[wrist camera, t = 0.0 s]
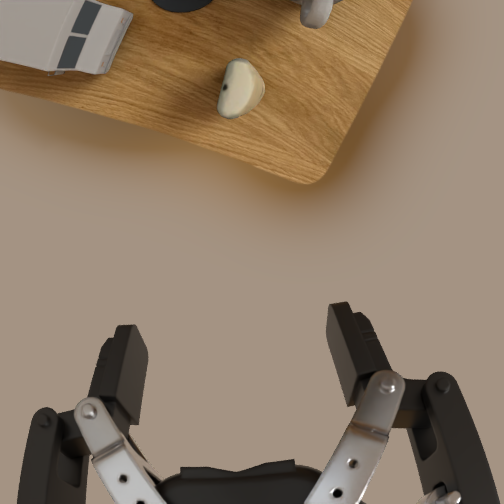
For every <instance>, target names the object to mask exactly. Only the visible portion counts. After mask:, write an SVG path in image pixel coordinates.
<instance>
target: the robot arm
mask: <svg viewBox="0 0 504 504" xmlns="http://www.w3.org/2000/svg"><path fill="white" fill-rule="evenodd" d="M326 337H327V342H328V345H329V348H330V352H331V355H332V358H333V361H334V364H335V367H336V370H337V374H338V377H339V381H340V384H341V387H342V390H343V393H344V397H345V400H346V404H347V406H348V407H349V406H354V405H355V406H356V412H355V414H354V416H353V418H352V420H351V422H350V423H349V425H348V427H347V428H346V430H345V432H344V435H343V436H342V438H341V440H340V442H339V444H338V446H337V448H336V449H335V451H334V453H333V455H332V457H331V459H330V460H329V462H328V464H327V466H326V467H325V469H324V471H323V472H321V471H319V470H317V469H314V468H311V467H308V466H303V465H295V461H294V459H291V460H284V461H277V462H268V463H264V464H261V465H258V466H255V467H252V468H249V469H246V470H242V471H239V472H233V471H227V470H221V469H216V468H211V467H181V468H180V471H181V472H180V473H179V474H175V475H173V476H170V477H168V478H166V479H165V480H164V479H163V478H162V476H161V475H160V474H159V473H158V472H157V471H156V470H155V468H154V467H153V466H152V465H151V464H150V462H149V461H148V459H147V458H146V457H145V455H144V454H143V452H142V451H141V449H140V448H139V446H138V445H137V444H136V442H135V440H134V439H133V437H132V436H131V434H130V433H129V427H130V425H139V418H140V410H141V403H142V397H143V390H144V383H145V377H146V371H147V365H148V351H147V347H146V345H145V343H144V341H143V339H142V337H141V335H140V333H139V330H138V329H137V326H136V325H119V326H117V328H116V331H115V334H114V338H108V339H107V340H106V342H105V343H104V345H103V346H102V347H101V351H100V354H99V359H98V361H97V364H96V366H97V367H96V368H95V371H94V375H93V378H92V382H91V386H90V390H89V394H88V397H87V398H85V399H83V400H81V401H80V402H79V403H78V404H77V406H76V408H75V409H74V410H71V411H66V412H62V413H58V414H57V413H56V412H55V411H54V410H53V409H51V408H48V407H45V408H42V409H40V410H38V411H37V412H36V413H35V414H34V416H33V418H32V421H31V426H30V430H29V434H28V439H27V443H26V449H25V453H24V459H23V465H22V470H21V476H20V483H19V490H18V498H17V504H85V502H86V487H87V486H86V485H87V475H88V463H89V455H91V454H92V455H93V458H92V459H91V461H92V464H93V466H94V468H95V470H96V472H97V473H98V475H99V477H100V479H101V480H102V482H103V484H104V486H105V487H106V489H107V491H108V492H109V494H110V496H111V497H112V499H113V500H114V502H115V504H366V503H364V502H363V501H361V498H362V496H363V494H364V492H365V490H366V488H367V486H368V484H369V482H370V480H371V478H372V476H373V474H374V472H375V469H376V467H377V465H378V463H379V460H380V459H381V456H382V454H383V452H384V449H385V447H386V444H387V442H388V438H389V436H388V435H389V432H390V430H391V428H406V429H407V432H408V435H409V439H410V442H411V446H412V449H413V453H414V457H415V460H416V464H417V468H418V472H419V476H420V480H421V483H422V488H423V492H424V496H423V497H422V498H421V499H420V500H419V501H418V502H417V503H416V504H500V501H499V497H498V494H497V490H496V487H495V483H494V480H493V476H492V473H491V470H490V467H489V464H488V461H487V458H486V455H485V452H484V449H483V446H482V443H481V440H480V438H479V435H478V432H477V430H476V427H475V424H474V422H473V419H472V417H471V414H470V412H469V409H468V407H467V405H466V402H465V400H464V397H463V395H462V393H461V391H460V389H459V386H458V384H457V381H456V380H455V379H454V377H453V376H452V375H450V374H448V373H446V372H435V373H433V374H431V375H430V376H429V377H428V379H427V380H411V379H405V378H402V377H401V375H399V374H398V373H397V372H394V371H393V370H392V369H391V366H390V364H389V362H388V360H387V357H386V355H385V353H384V351H383V349H382V346H381V345H380V342H379V340H378V339H377V335H376V333H375V332H374V329H373V327H372V324H371V322H370V320H369V319H368V318H367V317H366V316H365V315H363V314H362V313H361V312H357V313H353V312H352V310H351V308H350V305H349V304H348V302H340V303H334V304H329V307H328V316H327V326H326Z"/></svg>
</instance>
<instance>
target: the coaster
mask: <svg viewBox="0 0 504 504" xmlns="http://www.w3.org/2000/svg"><path fill="white" fill-rule="evenodd" d="M153 1H154V3H156V4H157V5H158V6H159V7H161V8H163V9H165V10H168V11H172V12H190V11H194V10H197V9H200V8H202V7H204V6H206V5H207V4H209V3H210V2H212V1H213V0H153Z"/></svg>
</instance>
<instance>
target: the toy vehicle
mask: <svg viewBox="0 0 504 504" xmlns="http://www.w3.org/2000/svg"><path fill="white" fill-rule="evenodd" d="M132 18H133V13H130V12H128V11H126V10H124V9H121V8H118V7H114V6H110V5H106V4H103V3H101V2H98V1H95V0H0V60H2V61H7V62H11V63H15V64H20V65H24V66H28V67H32V68H36V69H40V70H44V71H49V72H50V71H55V74H54V75H59V74H64V73H65V70H77V71H81V72H86V73H90V74H103V73H104V74H106V73H107V72H108V70H109V69H110V66H111V64H112V61H113V59H114V57H115V54H116V52H117V50H118V48H119V45H120V43H121V41H122V39H123V37H124V35H125V33H126V30H127V28H128V26H129V24H130V22H131V20H132ZM63 72H64V73H63ZM47 76H52V75H49V73H48V75H47Z"/></svg>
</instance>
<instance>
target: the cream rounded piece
mask: <svg viewBox="0 0 504 504" xmlns="http://www.w3.org/2000/svg"><path fill="white" fill-rule="evenodd" d="M264 93H265V85H264V81H263V79H262V78H261V77H260V75H259V74H258V72H257V70H256V69H255V68H254V67H253V66H252V65H251V64H250V62H249V61H247V60H245V59H242V58H237V59H233V60H232V61H230V62H229V63H228V65H227V66H226V71H225V76H224V80H223V84H222V87H221V91H220V95H219V99H218V103H217V111H218V113H219V114H220V115H221V116H222V117H224V118H227V119H233V118H238V117H239V116H242V115H244V114H246V113H248V112H249V111H250V110H252V109H253V108H254V107H255V106H256V105H257V104H258V103H259V102H260V100H261V98H262V97H263V95H264Z"/></svg>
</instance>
